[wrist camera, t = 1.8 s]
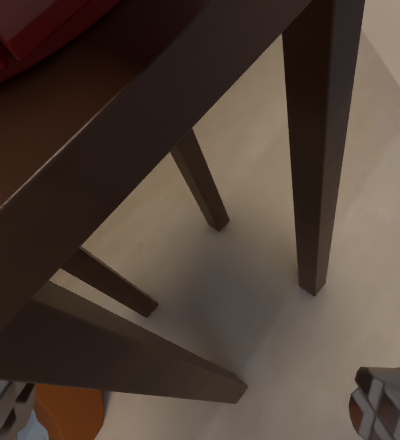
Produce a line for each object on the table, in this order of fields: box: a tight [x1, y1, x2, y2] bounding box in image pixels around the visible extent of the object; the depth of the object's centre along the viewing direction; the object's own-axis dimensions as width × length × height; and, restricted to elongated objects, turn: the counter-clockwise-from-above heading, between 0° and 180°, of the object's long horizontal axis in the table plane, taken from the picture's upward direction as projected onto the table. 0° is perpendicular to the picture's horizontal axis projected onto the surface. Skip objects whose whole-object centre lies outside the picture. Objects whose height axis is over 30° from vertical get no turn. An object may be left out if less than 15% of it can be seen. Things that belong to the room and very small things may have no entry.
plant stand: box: [0, 0, 365, 404], centre depth 19 cm, size 12×12×26 cm
